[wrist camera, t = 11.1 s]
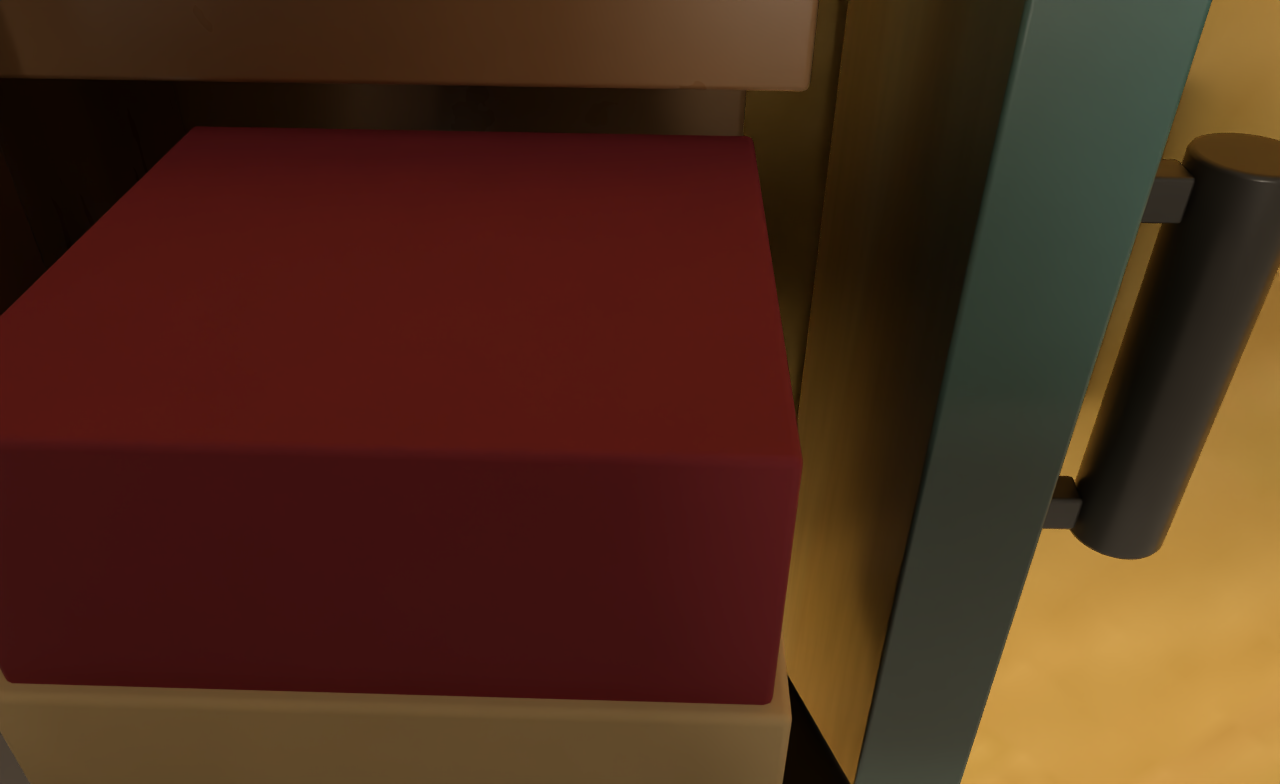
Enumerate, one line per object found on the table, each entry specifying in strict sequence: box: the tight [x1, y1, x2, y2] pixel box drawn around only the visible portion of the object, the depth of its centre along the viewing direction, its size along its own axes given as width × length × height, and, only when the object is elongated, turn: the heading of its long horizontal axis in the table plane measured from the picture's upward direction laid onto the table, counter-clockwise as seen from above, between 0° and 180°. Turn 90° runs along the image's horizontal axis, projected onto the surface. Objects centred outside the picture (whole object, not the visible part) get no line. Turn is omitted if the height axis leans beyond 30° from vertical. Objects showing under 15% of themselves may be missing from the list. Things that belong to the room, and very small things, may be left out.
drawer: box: [0, 0, 1280, 784], centre depth 13 cm, size 15×13×7 cm
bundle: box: [0, 126, 803, 784], centre depth 9 cm, size 10×4×4 cm, turn 0°
